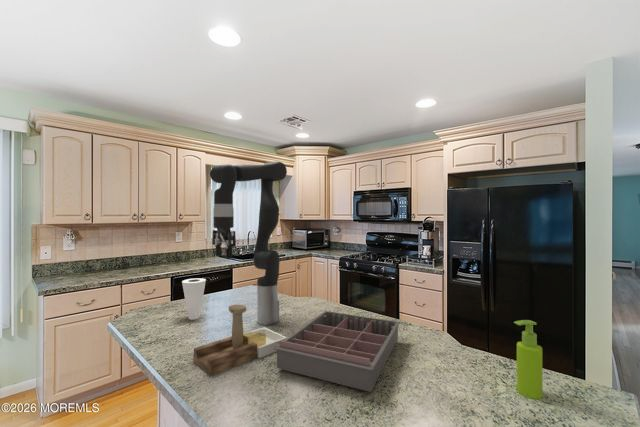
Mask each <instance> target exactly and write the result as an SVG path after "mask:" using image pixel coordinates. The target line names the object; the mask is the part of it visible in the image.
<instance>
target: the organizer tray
mask: <svg viewBox="0 0 640 427" xmlns="http://www.w3.org/2000/svg"><path fill="white" fill-rule="evenodd" d="M400 324H401V322H400V321H395V320H389V319H388V320H387V319H381V318H375V317H369V316H368V317H367V316H361V315H357V314H356V315H355V314H348V313H343V312H342V313H341V312H335V311H330V310H329V311H328V310H325V311H324V312H322V313H320V314H319V315H318V316H316V317H315V318H313V319H312V320H311V321H309V322H307V323H306V324H305V325H304V326H302V327H301V328H299V330H297V331H295V332H294V333H292V334H291V335H290V336H288V337H287V339H286V340H284V341H281V340H280V341H279V343H280V344H279V345H277V346H276V347H274V349H277V351H276V369H279V370H284V371H288V372H291V373H295V374H300V375H304V376H306V377H307V376H308V377H311V378H315V379H318V380H322V381H327V382H331V383H335V384H339V385H343V386H346V387H350V388H355V389H358V390H362V391H366V392H370V393H371V392H372V390H373V389H374V386H375V384H376V383H377V381H378V380H379V377H380V375H381V373H382V371H383V369H384V367H385V365H386V364H387V361H388V359H389V357H390V355H391V353H392V352H393V350H394V348H395V345H396V343H397V342H398V340H399V326H400Z"/></svg>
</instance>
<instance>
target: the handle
mask: <svg viewBox="0 0 640 427" xmlns="http://www.w3.org/2000/svg"><path fill="white" fill-rule="evenodd" d="M246 311H247V306H246V305H243V304H232V305H229V306H228V312H230V313H231V314H232V321H231V322H232V323H231V324H232V327H231V336H232V344H233V349H236V348H239V347H242V344H243V334H244V324H243V323H244V322H243V321H244V320H243V313H246Z"/></svg>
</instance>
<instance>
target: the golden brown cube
mask: <svg viewBox="0 0 640 427" xmlns="http://www.w3.org/2000/svg"><path fill="white" fill-rule="evenodd" d="M255 334H257V349H258V347H260V346H262V345H265V344H266V335H265V334H263V333H261V332H258V333H255Z"/></svg>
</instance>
